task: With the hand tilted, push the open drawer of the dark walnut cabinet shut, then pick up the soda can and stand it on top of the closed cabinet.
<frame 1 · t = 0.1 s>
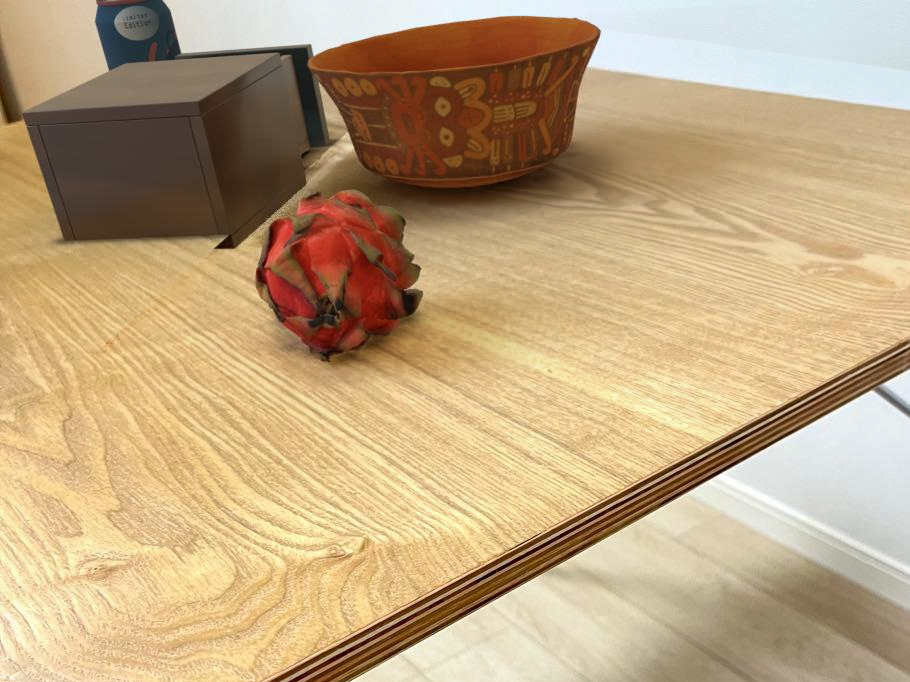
drawer: (234, 112, 92), point 5 cm above the table, slide at 7.0 cm
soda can: (164, 130, 112), on the table
cabinet: (194, 216, 86), on the table
bowl: (471, 179, 88), on the table
dragon fruit: (352, 342, 64), on the table
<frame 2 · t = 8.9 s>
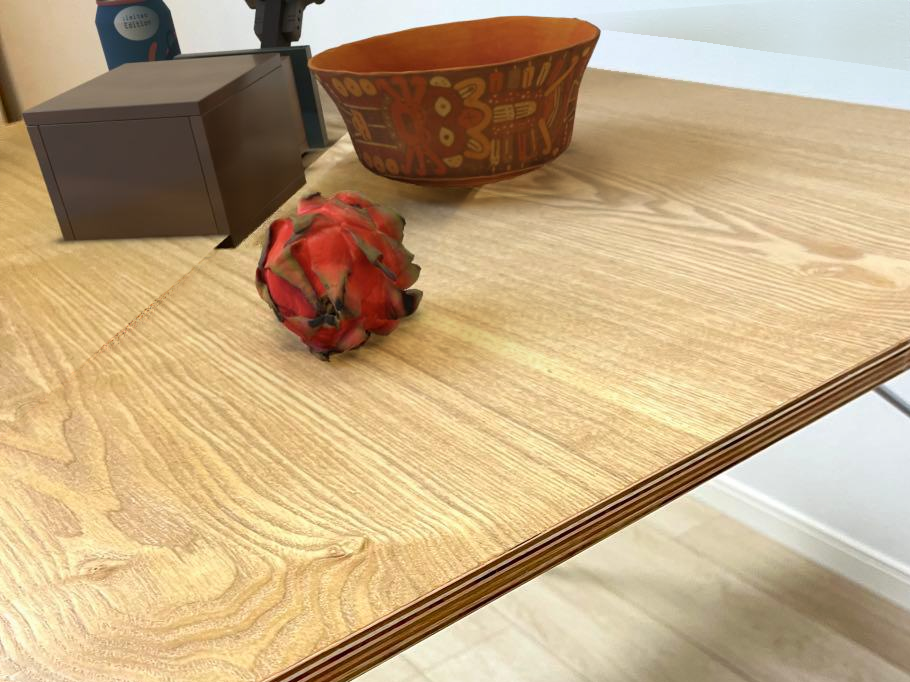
hand: (273, 72, 99), 6 cm above the table, tool tilted 45°, fingers closed
drawer: (233, 113, 92), point 5 cm above the table, slide at 6.6 cm, touching gripper
everything else where it was.
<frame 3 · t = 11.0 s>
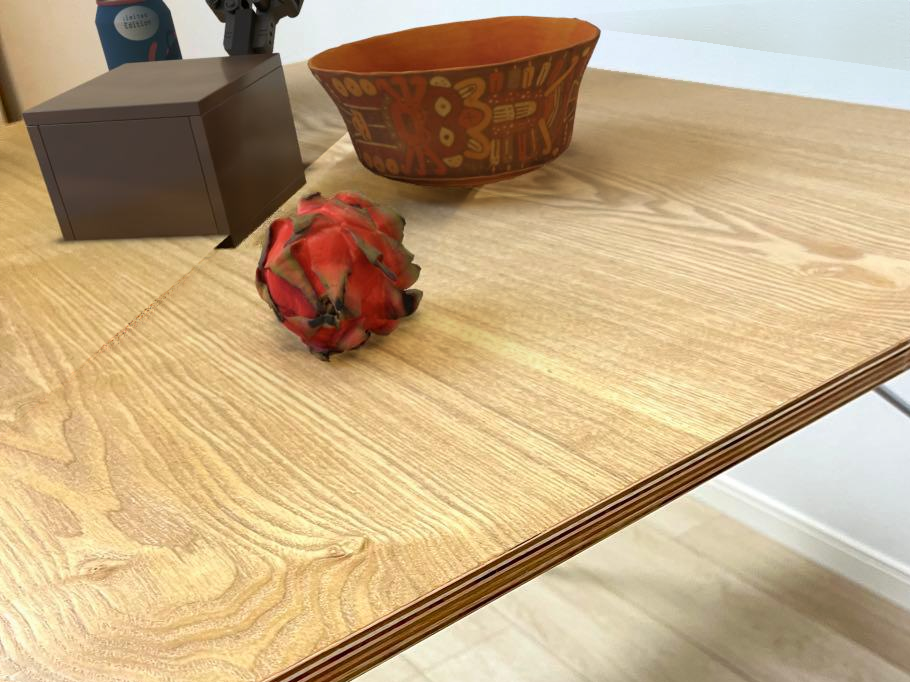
hand: (243, 90, 94), 6 cm above the table, tool tilted 45°, fingers closed
drawer: (199, 136, 87), point 5 cm above the table, slide at 0.0 cm
everything else where it was.
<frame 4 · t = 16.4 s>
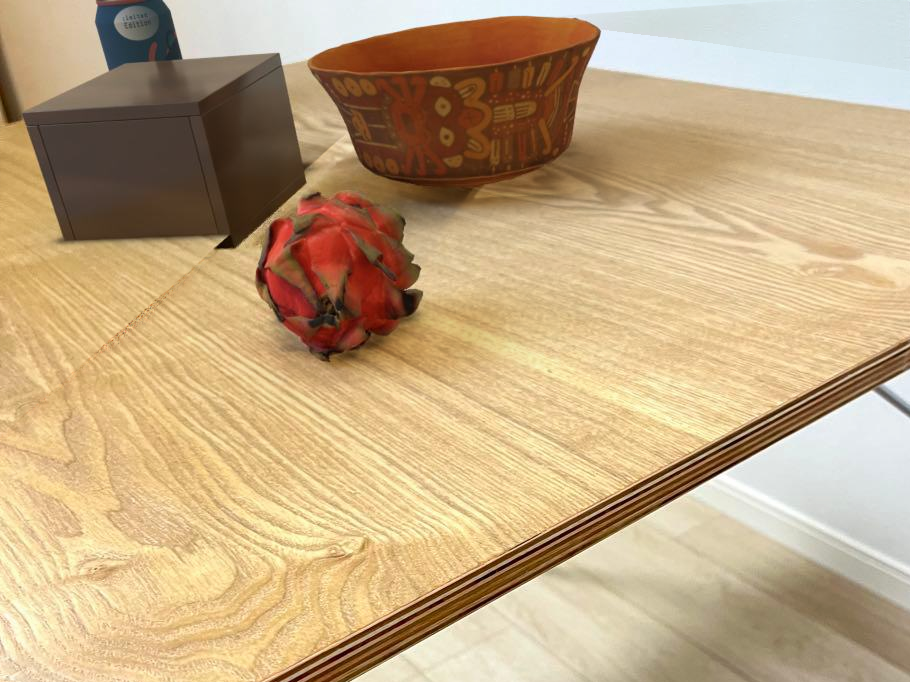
nothing on the table moved.
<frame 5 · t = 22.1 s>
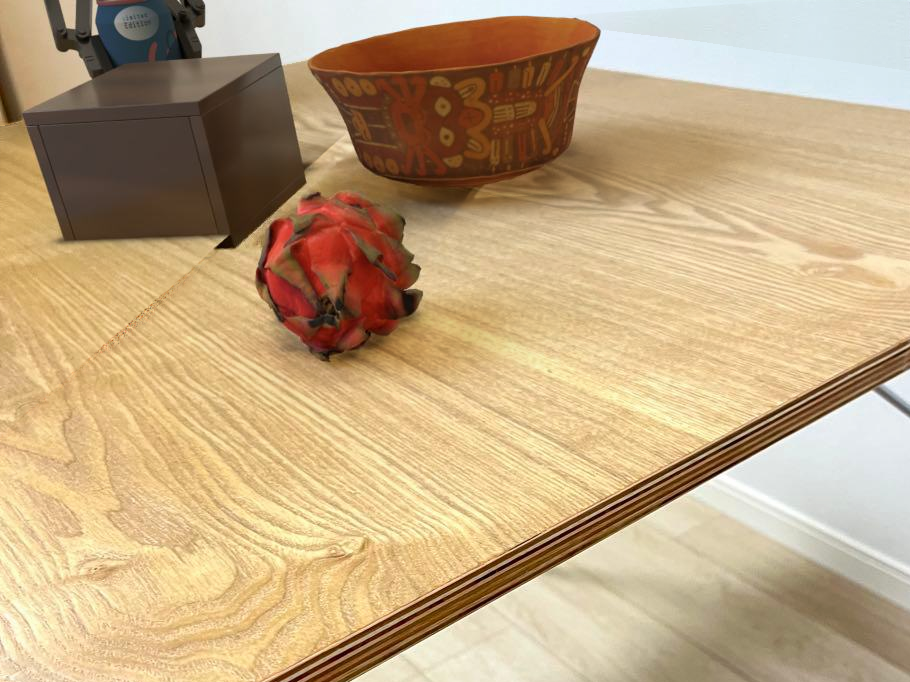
hand: (161, 95, 107), 4 cm above the table, tool tilted 45°, fingers closed on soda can, 7 cm apart
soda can: (163, 130, 112), on the table, touching gripper
everything else where it was.
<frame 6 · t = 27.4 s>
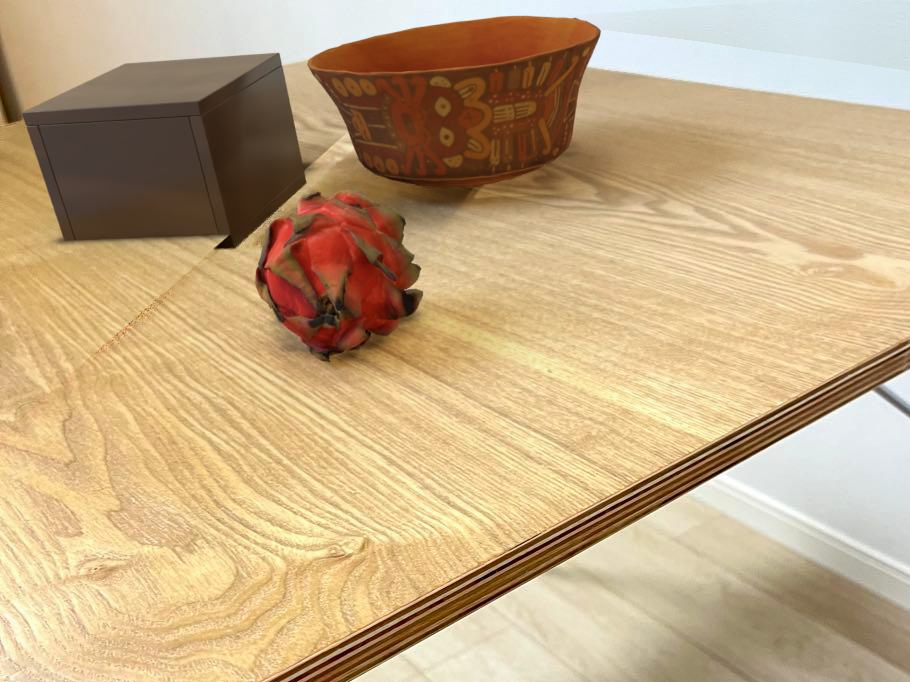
when the fingers open (14 cm above the table, at t = 32.7 s): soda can stays where it is, resting on cabinet.
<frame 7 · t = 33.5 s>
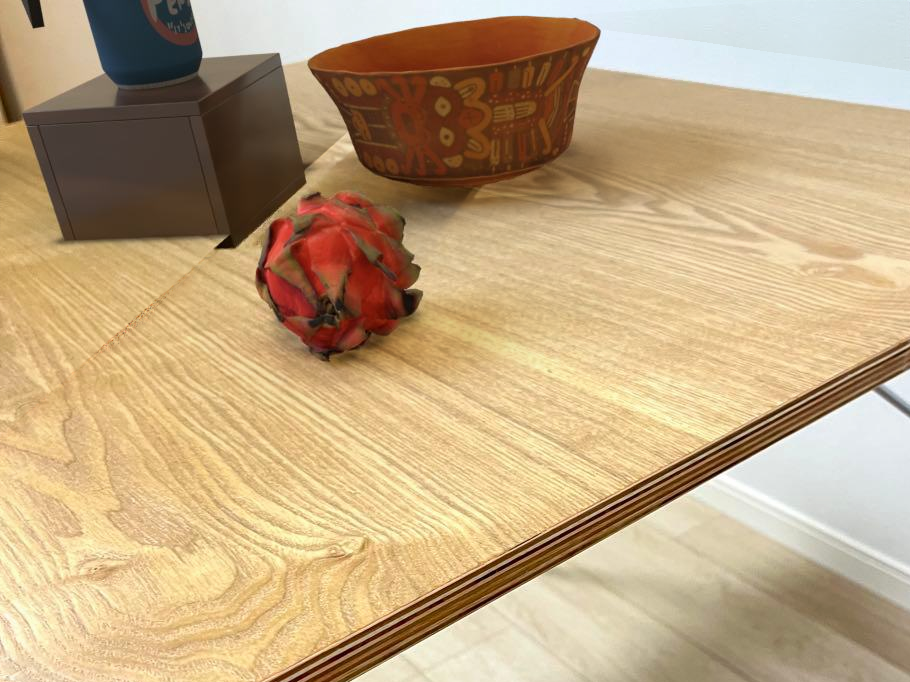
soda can: (158, 83, 81), point 10 cm above the table, touching cabinet
everything else where it was.
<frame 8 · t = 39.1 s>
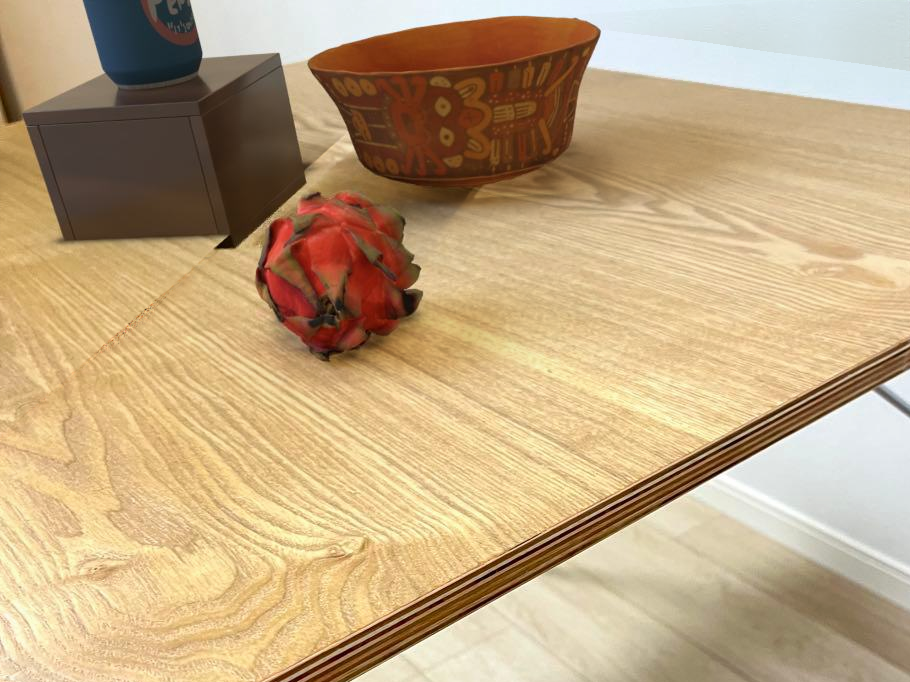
nothing on the table moved.
at the end: drawer slide at 0.0 cm; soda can inside the target area on the cabinet (0.0 cm from its centre), point 9.6 cm above the cabinet's base; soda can tilted 0° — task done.
